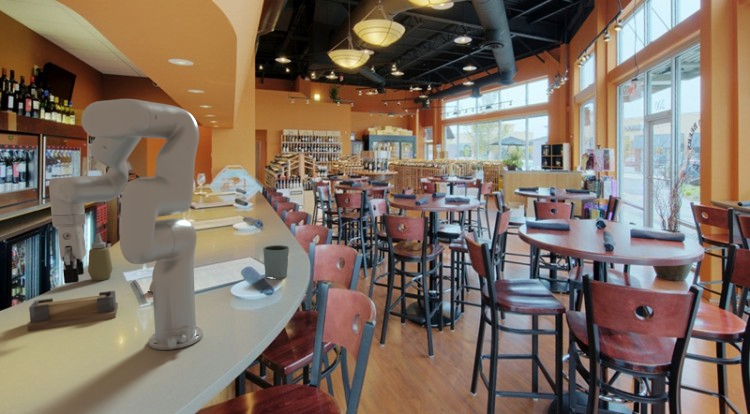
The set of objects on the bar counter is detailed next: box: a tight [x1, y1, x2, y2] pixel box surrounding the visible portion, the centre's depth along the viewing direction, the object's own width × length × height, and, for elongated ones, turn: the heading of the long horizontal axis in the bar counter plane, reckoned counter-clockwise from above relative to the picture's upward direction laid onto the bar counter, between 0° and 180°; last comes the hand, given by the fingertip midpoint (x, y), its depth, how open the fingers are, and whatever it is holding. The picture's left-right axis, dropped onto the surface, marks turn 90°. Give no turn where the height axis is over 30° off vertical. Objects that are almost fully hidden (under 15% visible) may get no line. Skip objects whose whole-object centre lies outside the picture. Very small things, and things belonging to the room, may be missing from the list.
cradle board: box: [27, 290, 119, 332], centre depth 117 cm, size 10×20×6 cm, turn 119°
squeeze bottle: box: [87, 233, 114, 282], centre depth 157 cm, size 8×8×18 cm
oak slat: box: [37, 295, 106, 319], centre depth 117 cm, size 3×16×4 cm, turn 119°
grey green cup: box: [262, 244, 290, 280], centre depth 162 cm, size 10×10×12 cm
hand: (74, 278), depth 116 cm, fingers open, 9 cm apart
